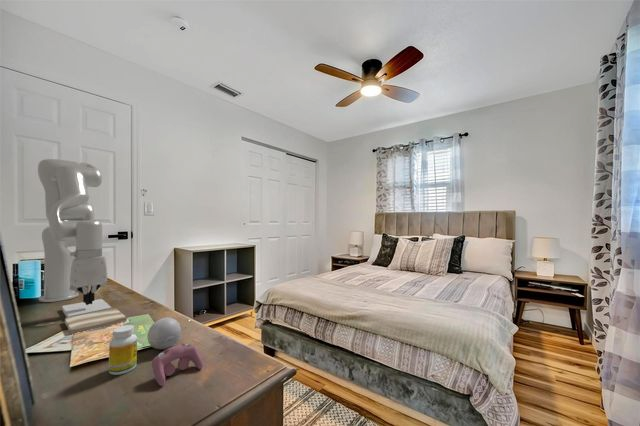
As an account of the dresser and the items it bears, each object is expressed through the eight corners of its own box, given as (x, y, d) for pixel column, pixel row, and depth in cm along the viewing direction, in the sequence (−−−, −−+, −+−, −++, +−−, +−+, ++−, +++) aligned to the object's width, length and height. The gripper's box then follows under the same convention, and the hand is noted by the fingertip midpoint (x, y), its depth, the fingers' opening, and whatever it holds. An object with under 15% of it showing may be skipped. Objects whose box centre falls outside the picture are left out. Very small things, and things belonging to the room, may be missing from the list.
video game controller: (196, 369, 67) (190, 340, 69) (205, 367, 65) (199, 336, 67) (152, 389, 60) (147, 355, 62) (160, 387, 57) (154, 352, 59)
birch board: (126, 321, 93) (126, 317, 93) (71, 335, 83) (71, 330, 83) (115, 312, 102) (115, 308, 102) (64, 322, 92) (65, 318, 92)
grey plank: (111, 311, 103) (111, 307, 103) (68, 320, 94) (68, 316, 94) (101, 302, 113) (101, 298, 113) (62, 309, 104) (62, 305, 104)
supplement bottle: (108, 368, 65) (108, 327, 65) (135, 360, 68) (135, 322, 68) (109, 378, 61) (109, 335, 61) (138, 370, 64) (138, 329, 64)
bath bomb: (184, 348, 75) (184, 319, 75) (150, 358, 69) (150, 326, 69) (176, 338, 81) (176, 311, 81) (144, 347, 75) (145, 317, 76)
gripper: (63, 257, 94) (62, 311, 93) (116, 252, 105) (116, 301, 105) (60, 255, 99) (59, 306, 98) (111, 251, 110) (111, 297, 109)
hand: (88, 303), depth 101 cm, fingers closed
